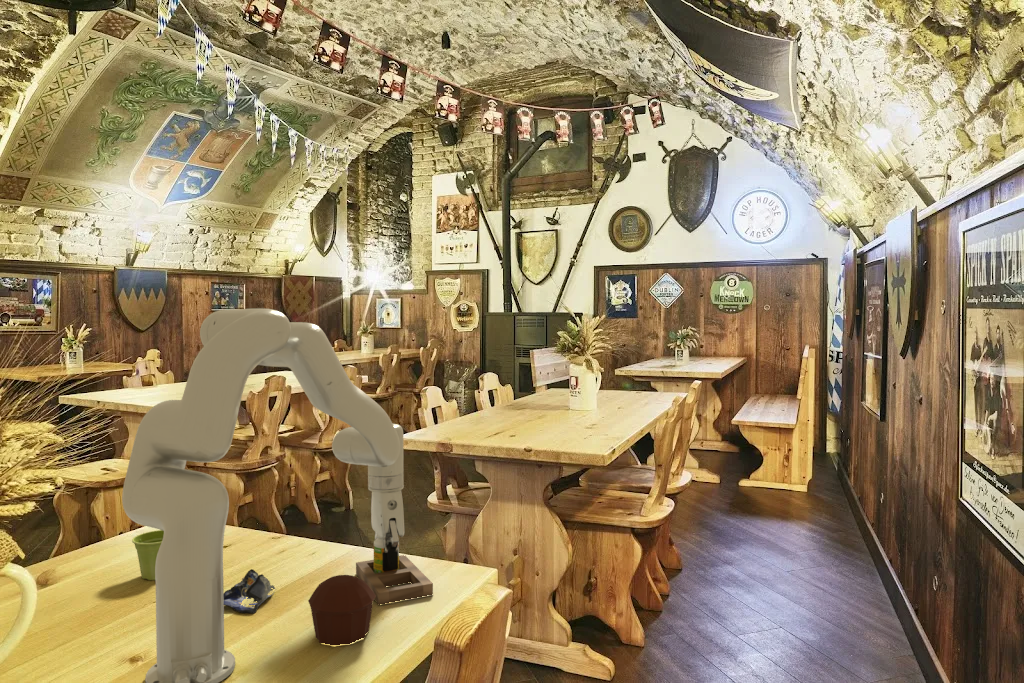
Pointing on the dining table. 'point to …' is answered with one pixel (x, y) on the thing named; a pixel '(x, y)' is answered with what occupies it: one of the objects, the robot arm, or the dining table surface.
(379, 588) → the bottle rack
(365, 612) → the muffin
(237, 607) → the snack package
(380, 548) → the supplement bottle
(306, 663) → the dining table surface
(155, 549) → the plant pot
